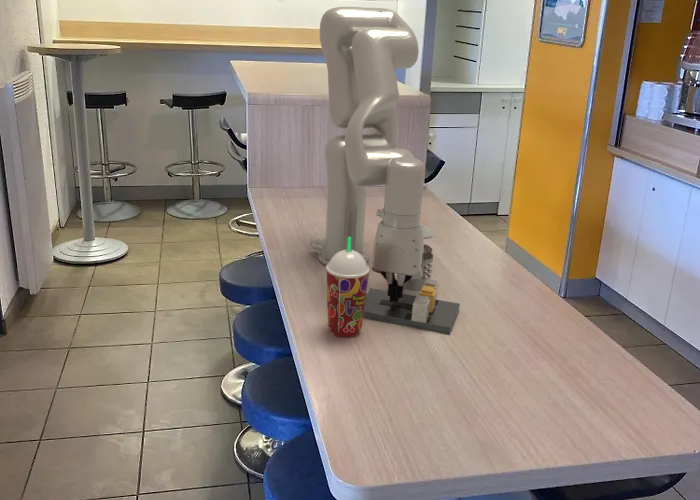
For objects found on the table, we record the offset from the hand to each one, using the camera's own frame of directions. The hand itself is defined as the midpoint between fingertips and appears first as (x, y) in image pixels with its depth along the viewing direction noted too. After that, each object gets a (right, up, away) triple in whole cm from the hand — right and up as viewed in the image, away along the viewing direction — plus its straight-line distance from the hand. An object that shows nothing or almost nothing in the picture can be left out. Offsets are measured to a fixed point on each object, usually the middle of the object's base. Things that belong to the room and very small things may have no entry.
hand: (394, 299), depth 144 cm
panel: (+3, -3, 0) cm, 4 cm away
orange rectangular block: (+7, -2, -2) cm, 7 cm away
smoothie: (-11, -6, -9) cm, 15 cm away
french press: (+5, +1, +12) cm, 13 cm away
